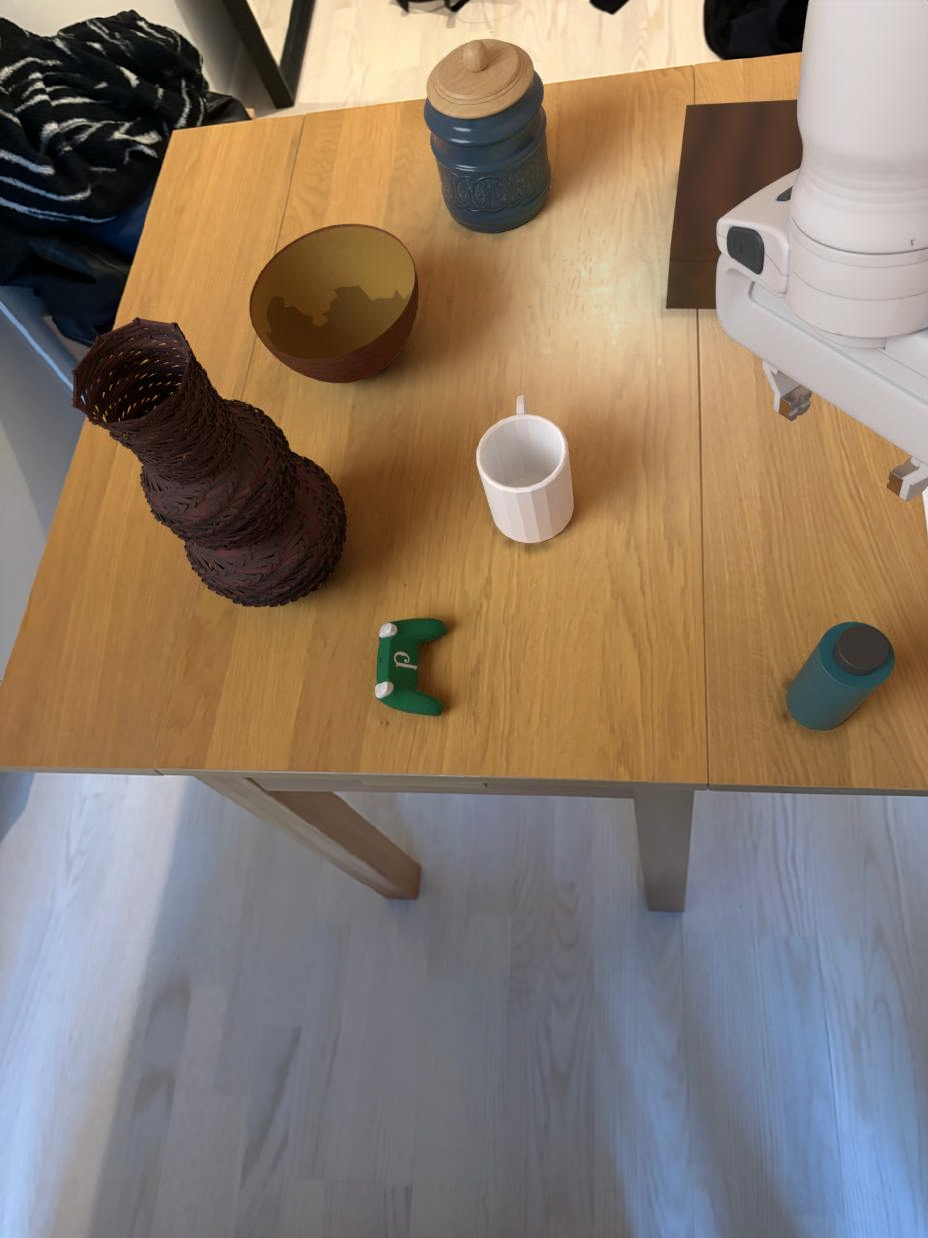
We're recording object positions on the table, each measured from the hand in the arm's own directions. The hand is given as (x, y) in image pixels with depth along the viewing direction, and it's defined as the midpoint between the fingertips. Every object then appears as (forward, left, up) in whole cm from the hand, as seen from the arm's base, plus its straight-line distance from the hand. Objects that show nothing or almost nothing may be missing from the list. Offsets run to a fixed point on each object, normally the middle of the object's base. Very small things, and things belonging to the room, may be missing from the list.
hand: (845, 448), depth 50 cm
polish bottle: (-3, +10, -22) cm, 25 cm away
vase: (+47, +1, -23) cm, 52 cm away
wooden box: (+6, -42, -22) cm, 48 cm away
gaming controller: (+32, +11, -23) cm, 41 cm away
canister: (+34, -49, -23) cm, 63 cm away
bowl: (+46, -25, -23) cm, 57 cm away
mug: (+24, -9, -23) cm, 34 cm away
